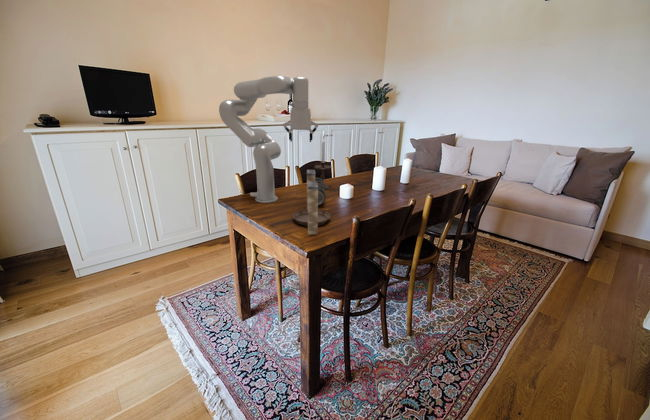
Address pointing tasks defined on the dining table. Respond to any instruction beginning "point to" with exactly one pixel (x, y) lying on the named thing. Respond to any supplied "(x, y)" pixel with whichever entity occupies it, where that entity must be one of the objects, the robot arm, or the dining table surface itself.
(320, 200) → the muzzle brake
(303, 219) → the plant saucer
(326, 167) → the candlestick
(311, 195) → the post front
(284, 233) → the dining table surface
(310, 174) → the post back
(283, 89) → the robot arm
